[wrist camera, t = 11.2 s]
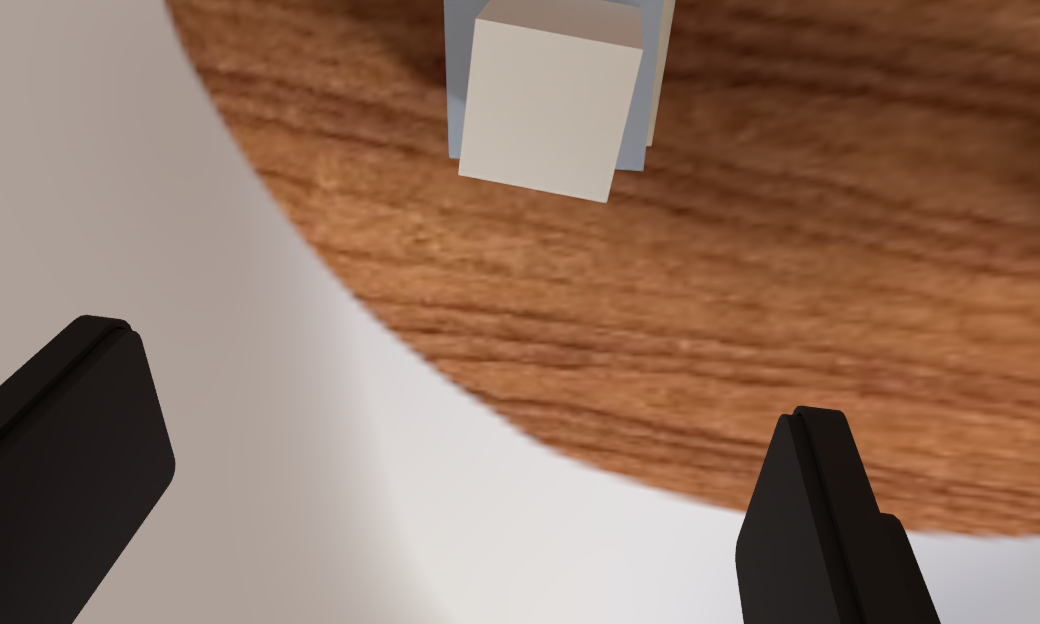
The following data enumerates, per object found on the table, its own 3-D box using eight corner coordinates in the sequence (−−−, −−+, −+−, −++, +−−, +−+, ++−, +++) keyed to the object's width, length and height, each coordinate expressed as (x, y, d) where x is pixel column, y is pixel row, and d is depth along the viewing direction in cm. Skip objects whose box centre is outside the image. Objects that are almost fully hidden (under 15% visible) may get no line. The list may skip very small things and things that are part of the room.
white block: (640, 7, 27) (643, 49, 22) (610, 138, 29) (606, 203, 24) (503, -19, 27) (475, 18, 22) (486, 115, 29) (458, 174, 24)
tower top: (664, -62, 29) (669, -46, 25) (641, 136, 33) (642, 171, 30) (462, -70, 29) (441, -56, 26) (466, 125, 34) (449, 158, 31)
